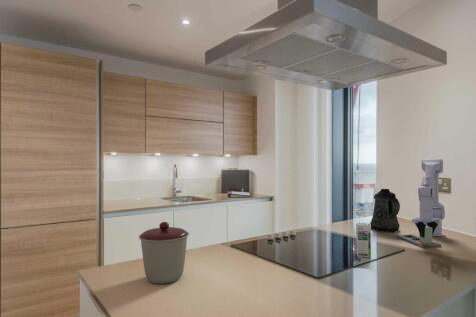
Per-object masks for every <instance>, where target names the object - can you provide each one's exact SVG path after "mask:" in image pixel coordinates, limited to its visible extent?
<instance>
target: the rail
mask: <svg viewBox="0 0 476 317" xmlns="http://www.w3.org/2000/svg"><path fill="white" fill-rule="evenodd" d="M395 237H396V238H397V239H400V240H402V241H405V242H407V243H410V244H413V245H414V246H418V247H419V248H422V249H424V248H425V249H427V248H442V244H441V243H438V242H436V241H433V240H432V244H424V243H421V242H420V235H419V236H418V235H415V234H396V235H395Z"/></svg>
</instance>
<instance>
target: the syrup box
mask: <svg viewBox="0 0 476 317" xmlns="http://www.w3.org/2000/svg"><path fill="white" fill-rule="evenodd" d="M355 227H356V228H355V230H356V232H355V234H356V235H355V236H356V237H355V238H356V239H355V240H356V242H355V244H356V256H357V258H361V257H362V258H372V247H371V244H372V243H371V239H372V238H371V237H372V236H371V235H372V234H371V230H372V229H371V225H370V222H368V223H367V222H355Z"/></svg>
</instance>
